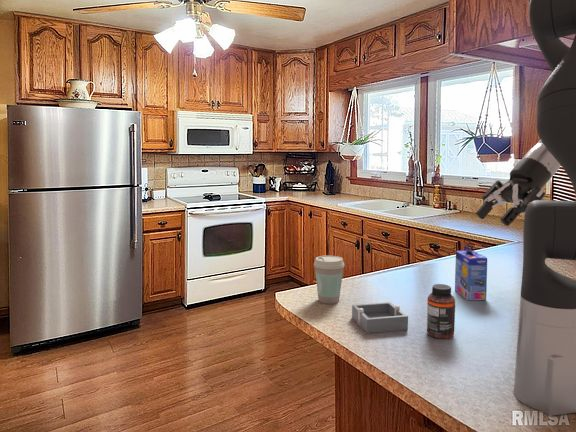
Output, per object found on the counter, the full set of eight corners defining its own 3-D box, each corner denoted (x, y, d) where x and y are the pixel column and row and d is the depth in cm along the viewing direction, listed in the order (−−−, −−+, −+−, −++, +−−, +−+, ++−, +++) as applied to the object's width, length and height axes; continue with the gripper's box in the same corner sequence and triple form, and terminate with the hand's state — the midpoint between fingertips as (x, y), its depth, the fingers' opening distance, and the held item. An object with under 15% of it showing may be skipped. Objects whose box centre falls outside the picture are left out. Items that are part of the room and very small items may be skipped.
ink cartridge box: (453, 290, 133) (455, 242, 131) (471, 289, 134) (473, 242, 132) (467, 300, 124) (469, 249, 122) (486, 300, 124) (489, 249, 122)
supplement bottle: (442, 328, 105) (444, 281, 103) (459, 337, 99) (462, 288, 98) (420, 331, 103) (422, 283, 101) (437, 341, 97) (439, 291, 96)
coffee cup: (320, 293, 130) (320, 253, 129) (348, 297, 127) (348, 256, 125) (308, 302, 123) (308, 260, 121) (338, 307, 119) (338, 263, 117)
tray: (408, 329, 104) (409, 313, 103) (365, 333, 102) (366, 316, 101) (390, 314, 114) (390, 299, 113) (351, 317, 112) (351, 302, 111)
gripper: (505, 155, 108) (462, 204, 108) (552, 157, 95) (502, 214, 94) (523, 176, 110) (480, 224, 110) (571, 181, 97) (522, 236, 96)
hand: (490, 219), depth 102 cm, fingers open, 8 cm apart
